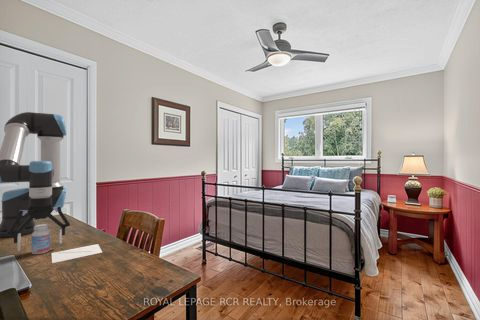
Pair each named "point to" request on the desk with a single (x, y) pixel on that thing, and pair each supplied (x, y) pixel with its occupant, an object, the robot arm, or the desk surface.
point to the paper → (75, 253)
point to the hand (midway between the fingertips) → (40, 246)
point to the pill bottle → (40, 239)
